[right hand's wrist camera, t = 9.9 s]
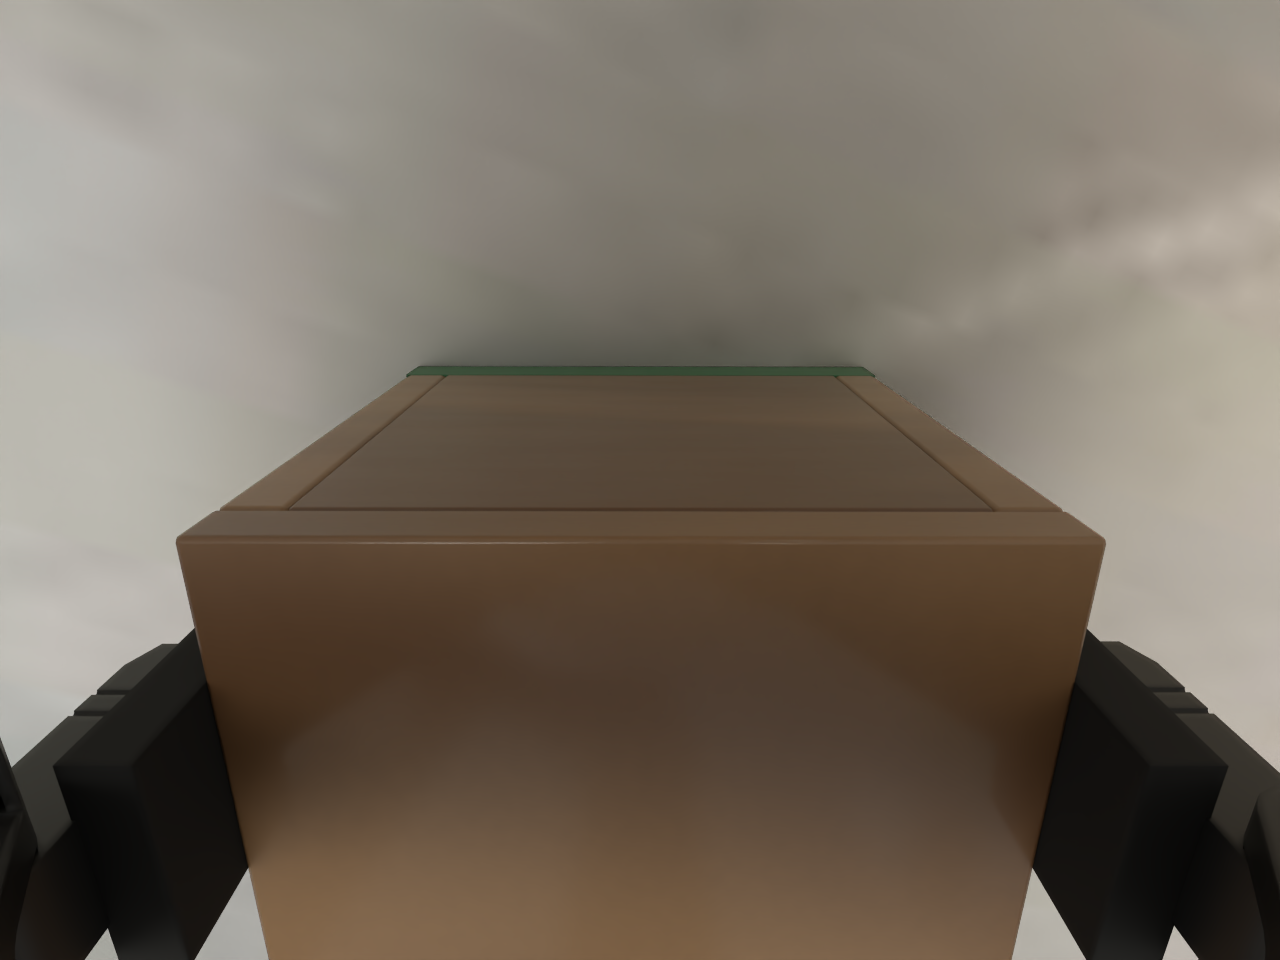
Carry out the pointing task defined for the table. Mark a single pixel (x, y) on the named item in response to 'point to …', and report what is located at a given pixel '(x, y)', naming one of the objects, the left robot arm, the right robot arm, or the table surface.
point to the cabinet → (640, 671)
